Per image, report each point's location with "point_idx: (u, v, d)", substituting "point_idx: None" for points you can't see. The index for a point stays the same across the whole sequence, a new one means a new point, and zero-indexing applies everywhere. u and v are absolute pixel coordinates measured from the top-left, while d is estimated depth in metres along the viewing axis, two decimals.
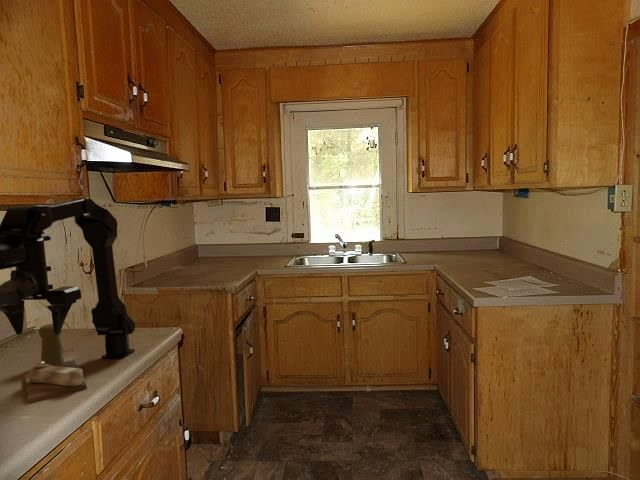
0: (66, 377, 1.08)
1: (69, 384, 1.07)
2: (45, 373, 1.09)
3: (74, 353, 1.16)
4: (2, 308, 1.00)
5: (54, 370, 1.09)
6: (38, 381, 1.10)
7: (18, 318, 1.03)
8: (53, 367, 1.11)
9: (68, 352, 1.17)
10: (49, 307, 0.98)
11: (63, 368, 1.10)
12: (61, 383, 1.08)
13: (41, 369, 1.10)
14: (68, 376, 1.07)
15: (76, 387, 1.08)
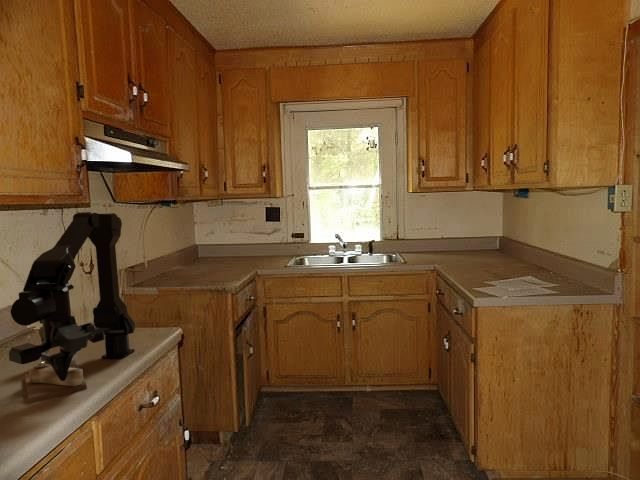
0: (66, 377, 1.08)
1: (69, 384, 1.07)
2: (45, 373, 1.09)
3: None
4: (61, 356, 1.04)
5: None
6: (38, 381, 1.10)
7: None
8: None
9: None
10: (72, 352, 1.05)
11: None
12: (61, 383, 1.08)
13: (41, 369, 1.10)
14: (68, 376, 1.07)
15: (76, 387, 1.08)
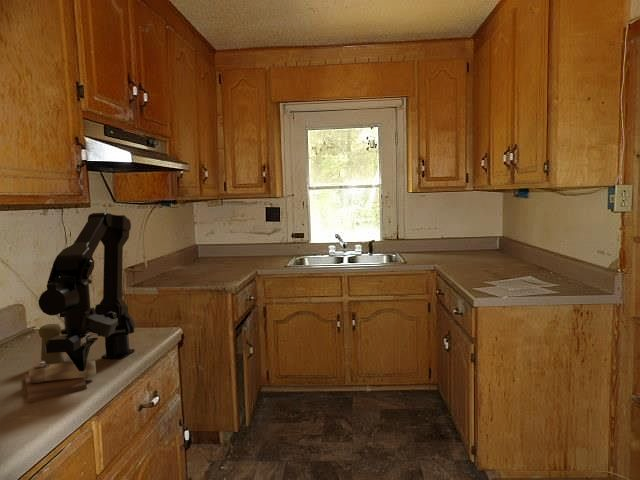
0: None
1: (85, 375, 1.12)
2: (53, 370, 1.11)
3: None
4: (89, 344, 1.10)
5: (63, 366, 1.12)
6: (43, 380, 1.11)
7: None
8: (57, 364, 1.13)
9: None
10: (93, 341, 1.12)
11: (70, 363, 1.14)
12: (74, 376, 1.12)
13: (45, 368, 1.11)
14: None
15: (76, 387, 1.08)
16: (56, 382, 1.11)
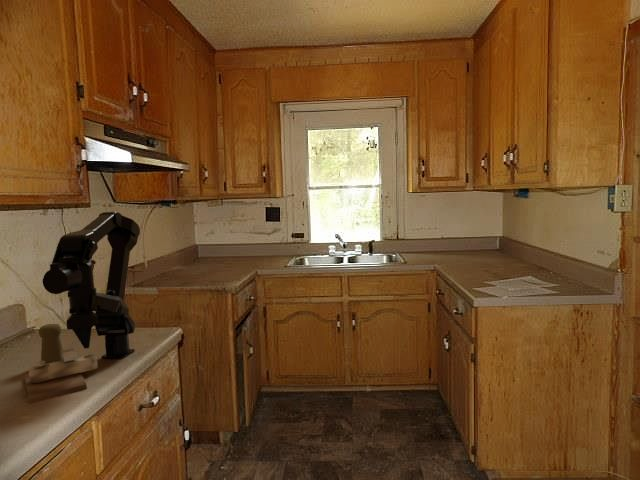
0: (86, 363, 1.16)
1: (89, 369, 1.17)
2: (57, 368, 1.13)
3: (74, 353, 1.16)
4: None
5: (66, 362, 1.14)
6: (47, 378, 1.12)
7: None
8: (56, 362, 1.15)
9: (68, 352, 1.17)
10: (97, 318, 1.17)
11: None
12: (79, 371, 1.16)
13: (48, 366, 1.12)
14: (89, 361, 1.17)
15: (76, 387, 1.08)
16: (56, 382, 1.11)
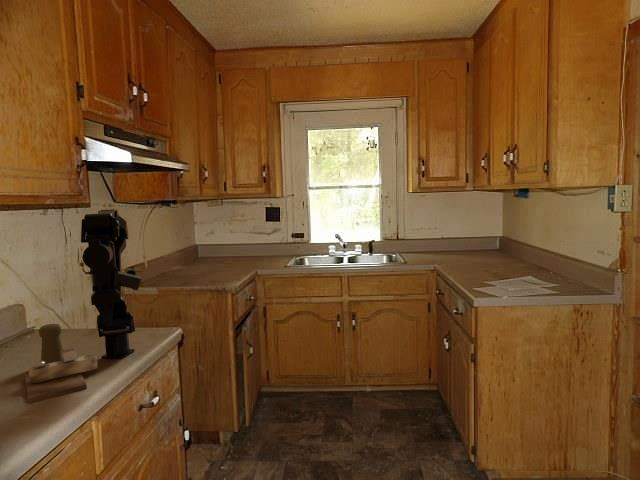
0: (86, 363, 1.16)
1: (89, 369, 1.17)
2: (57, 368, 1.13)
3: (74, 353, 1.16)
4: None
5: (66, 362, 1.14)
6: (47, 378, 1.12)
7: None
8: (56, 362, 1.15)
9: (68, 352, 1.17)
10: None
11: None
12: (79, 371, 1.16)
13: (48, 366, 1.12)
14: (89, 361, 1.17)
15: (76, 387, 1.08)
16: (56, 382, 1.11)
